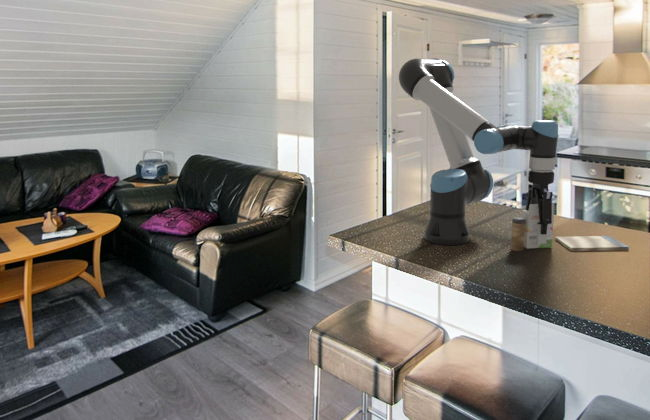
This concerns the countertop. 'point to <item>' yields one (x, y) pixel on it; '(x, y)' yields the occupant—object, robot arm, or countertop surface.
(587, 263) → the countertop surface
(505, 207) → the countertop surface
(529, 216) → the ink box
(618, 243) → the plywood panel
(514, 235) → the grey and tan cylinder
